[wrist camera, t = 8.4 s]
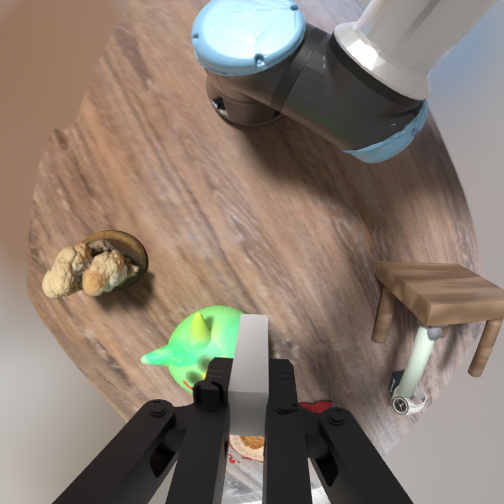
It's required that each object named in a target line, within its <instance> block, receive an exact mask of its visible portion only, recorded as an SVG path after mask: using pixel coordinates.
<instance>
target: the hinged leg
mask: <svg viewBox="0 0 504 504" xmlns="http://www.w3.org/2000/svg"><path fill="white" fill-rule="evenodd" d="M417 325H418V326H419V328H418V332H417V335H416V338H415V341H414V345H413V348H412V351H411V354H410V357H409V359H408V362H407V365H406V368H405V371H404V373H403V376H402V379H401V381H400V384H399V386H398V389H397V394H398V395H399V396H401V397H403V398H411V397H412V396H413V395H414V392H415V390H416V388H417V386H418V383H419V381H420V378H421V376H422V373H423V371H424V368H425V366H426V363H427V361H428V358H429V355H430V353H431V350H432V347H433V344H434V341H435V340H437V339H438V338H439V337H440V336H441V334H442V329H441V328H440V327H439V328H431V327H430V326H425V325H424V324H423V323H422V322H421V321H420V320H419V319H417Z"/></svg>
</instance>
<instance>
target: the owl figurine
mask: <svg viewBox="0 0 504 504" xmlns="http://www.w3.org/2000/svg"><path fill="white" fill-rule="evenodd" d="M146 266H147V256H146V252H145V249H144V247H143V246H142V244H141V243H140V241H139V240H138V239H137V238H135V237H134V236H132V235H130V234H128V233H125V232H121V231H116V230H109V231H102V232H98V233H95V234H93V235H90V236H89V237H87V238H85V239H84V240H83V241H82V242H81V243H79V244H78V245H76V246H71V247H67V248H65V249H63V250H62V251H61V252H60V253H59V255H58V256H57V257H56V259H55V263H54V265H53V267H52V269H50V270H48V271H47V273H46V275H45V277H44V280H43V283H42V287H43V291H44V293H45V294H46V295H47V297H49V298H51V299H59V298H61V297H63V296H66V295H67V296H70V295H71V294H73V293H76V292H77V291H80V290H82V289H84V291H85V293H86V294H87V295H89V296H91V297H95V296H99V295H101V294H102V292H103V291H104V292H109V291H113V290H121V289H124V288H127V287H129V286H131V285H133V284H134V283H135V282H137V281H138V280H139V279H140V278H141V277H142V275H143V273H144V271H145V269H146Z"/></svg>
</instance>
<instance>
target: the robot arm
mask: <svg viewBox="0 0 504 504" xmlns="http://www.w3.org/2000/svg"><path fill="white" fill-rule="evenodd" d="M496 1H497V0H371V2H370V3H369V5H368V6H367V8H366V9H365V11H364V12H363V14H362V16H361V17H360V19H359V20H358V21H356V22H348V23H341V24H339V25H338V26H336V28H335V30H334V31H333V33H332V35H330V34H328V33H327V32H325V31H323V30H321V29H319V28H317V27H315V26H313V25H311V24H309V23H307V22H305V18H304V16H303V14H302V12H301V11H300V10H299V9H298V6H297V4H296V3H295V2H294V1H293V0H212V1H211V2H209V3H208V4H207V5H206V6H205V7H204V8H203V9H202V10H201V11H200V13H199V14H198V15H197V17H196V19H195V21H194V23H193V27H192V31H191V40H192V44H193V47H194V51H195V56H196V59H197V60H198V62H200V64H201V65H202V66H203V67H204V69H205V71H206V73H207V74H208V75H207V80H206V89H207V94H208V97H209V99H210V101H211V103H212V105H213V106H214V108H215V109H216V110H217V111H218V113H219V114H220V115H222V116H223V117H224V118H226V119H227V120H229V121H231V122H233V123H236V124H239V125H243V126H261V125H266V124H269V123H272V122H274V121H276V120H278V119H279V118H281V117H282V116H283V115H285V116H287V117H289V118H291V119H293V120H294V121H296V122H298V123H299V124H301V125H303V126H305V127H306V128H308V129H310V130H311V131H313V132H315V133H316V134H318V135H320V136H321V137H323V138H324V139H326V140H328V141H329V142H331V143H332V144H334V145H335V146H337V148H338V149H340V150H342V151H343V152H346V153H349V154H351V155H353V156H355V157H356V158H358V159H359V160H361V161H363V162H366V163H380V162H383V161H386V160H388V159H390V158H392V157H393V156H395V155H397V154H398V153H399V152H401V151H402V150H403V149H405V148H406V147H407V146H408V145H409V144H410V143H411V142H412V141H413V139H414V135H415V134H416V133H417V132H419V131H420V130H421V129H422V127H423V126H424V124H425V122H426V119H427V116H428V111H429V108H428V102H427V101H426V99H427V97H428V96H429V95H430V93H431V89H430V82H429V73H430V72H431V71H432V70H433V69H434V68H435V67H436V66H437V65H438V64H439V62H441V61H442V59H443V58H444V57H445V56H446V55H447V54H448V53H449V52H450V51H451V50H452V49H453V48H454V47H455V45H456V44H457V43H458V42H459V41H460V40H461V39H462V38H463V37H464V36H465V35H466V34H467V33H468V32H469V30H470V29H471V28H472V27H473V26H474V25H475V24H476V23H477V22H478V21H479V20H480V19H481V18H482V17H483V15H484V14H485V13H486V12H487V11H488V10H489V9H490V8H491V6H493V5H494V4H495V2H496ZM192 390H193V399H194V403H192V404H190V405H187V406H181V407H174V406H173V405H172V404H171V403H170V402H168V401H166V400H161V399H155V400H151V401H148V402H147V403H145V404H144V405H143V406H142V407H141V408H140V409H139V411H138V412H137V413H136V414H135V415H134V416H133V417H132V418H131V419H130V420H129V422H128V423H127V424H126V425H125V426H124V427H123V428H122V429H121V430H120V432H119V433H118V434H117V435H116V436H115V437H114V438H113V439H112V440H111V442H109V444H108V445H107V446H106V447H105V448H104V449H103V450H102V451H101V452H100V453H99V454H98V456H97V457H96V458H95V459H94V460H93V461H92V462H91V463H90V464H89V465H88V466H87V467H86V468H85V469H84V470H83V471H82V473H81V474H80V475H79V476H78V477H77V478H76V479H75V480H74V481H73V482H72V483H71V484H70V485H69V486H68V487H67V489H66V490H65V491H64V492H63V493H62V494H61V495H60V496H59V497H58V498H57V499H56V500H55V501H54V502H53V503H52V504H148V502H149V501H150V499H151V498H152V497H153V495H154V494H155V492H156V491H157V489H158V488H159V486H160V485H161V483H162V482H163V480H164V479H165V477H166V476H167V474H168V473H169V471H170V470H171V468H172V467H173V465H174V464H175V462H176V461H177V464H176V467H175V471H174V474H173V478H172V482H171V485H170V489H169V492H168V496H167V499H166V503H165V504H221V501H222V494H223V486H224V478H225V471H226V463H227V455H228V448H229V434H230V435H240V436H262V437H264V449H263V456H264V458H263V496H262V504H312V494H311V485H310V476H309V467H308V458H310V460H311V463H312V465H313V467H314V469H315V471H316V473H317V475H318V478H319V480H320V482H321V484H322V486H323V488H324V490H325V492H326V494H327V496H328V498H329V501H330V503H331V504H413V502H412V501H411V499H410V498H409V496H408V495H407V493H406V492H405V491H404V489H403V488H402V486H401V485H400V483H399V482H398V480H397V479H396V478H395V476H394V475H393V473H392V472H391V470H390V469H389V468H388V466H387V465H386V463H385V462H384V460H383V459H382V457H381V456H380V454H379V453H378V452H377V450H376V449H375V447H374V446H373V444H372V443H371V441H370V440H369V438H368V437H367V436H366V434H365V433H364V431H363V430H362V428H361V427H360V425H359V424H358V422H357V421H356V419H355V418H354V417H353V415H352V414H351V413H350V412H349V411H348V410H346V409H343V408H339V407H333V408H328V409H326V410H324V411H323V412H322V413H321V414H320V413H315V412H311V411H308V410H306V409H304V408H303V407H302V406H301V405H300V404H299V403H298V400H297V392H296V384H295V376H294V369H293V365H292V364H291V362H290V361H289V360H288V359H268V315H251V314H241V317H240V323H239V329H238V335H237V341H236V347H235V353H234V358H224V357H215V358H214V359H212V360H211V361H210V362H209V365H208V369H207V372H206V376H205V379H204V380H201V381H198V382H197V383H195V384H194V386H193V387H192ZM307 457H308V458H307ZM177 459H178V460H177Z"/></svg>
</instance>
